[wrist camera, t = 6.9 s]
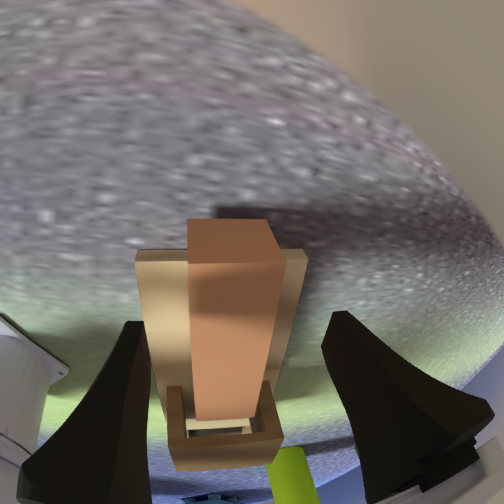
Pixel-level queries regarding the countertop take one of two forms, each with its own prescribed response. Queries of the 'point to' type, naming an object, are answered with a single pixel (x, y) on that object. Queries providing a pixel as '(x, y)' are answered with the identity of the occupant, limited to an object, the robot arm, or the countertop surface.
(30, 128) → the countertop surface
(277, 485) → the soap dispenser
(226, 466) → the tunnel
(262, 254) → the block
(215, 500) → the teapot
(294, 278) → the board
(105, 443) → the robot arm
